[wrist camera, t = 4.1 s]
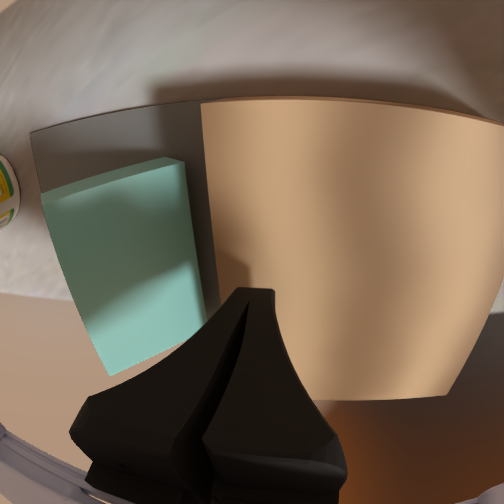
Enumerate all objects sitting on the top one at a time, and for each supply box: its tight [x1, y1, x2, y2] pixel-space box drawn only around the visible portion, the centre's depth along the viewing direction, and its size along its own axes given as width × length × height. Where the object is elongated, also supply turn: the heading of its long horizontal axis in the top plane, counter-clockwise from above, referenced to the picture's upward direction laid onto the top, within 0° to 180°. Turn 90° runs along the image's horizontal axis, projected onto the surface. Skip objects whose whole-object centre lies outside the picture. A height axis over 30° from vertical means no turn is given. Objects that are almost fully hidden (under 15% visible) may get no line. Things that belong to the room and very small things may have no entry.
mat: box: [30, 98, 226, 340], centre depth 17 cm, size 12×14×1 cm
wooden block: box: [201, 96, 504, 400], centre depth 13 cm, size 12×14×4 cm
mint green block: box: [40, 157, 207, 376], centre depth 14 cm, size 6×9×2 cm
